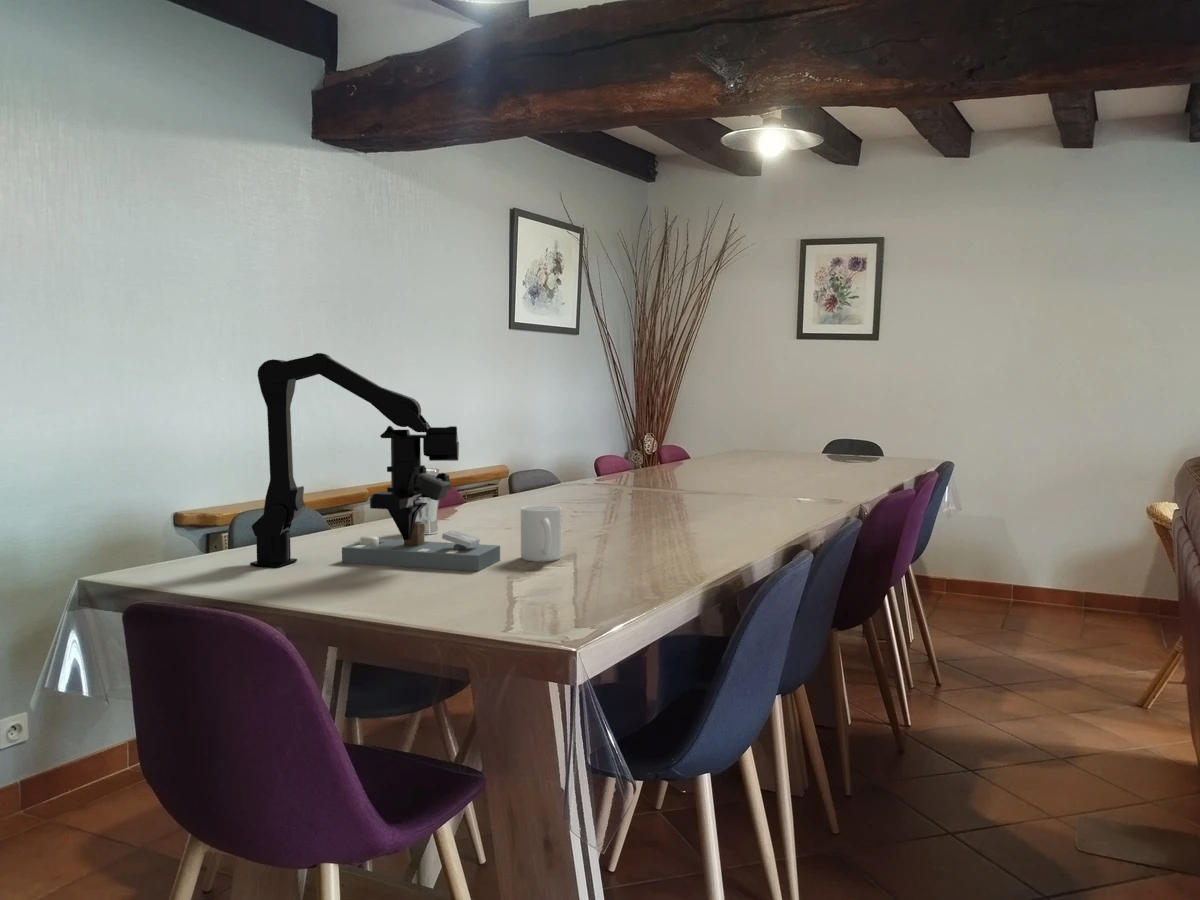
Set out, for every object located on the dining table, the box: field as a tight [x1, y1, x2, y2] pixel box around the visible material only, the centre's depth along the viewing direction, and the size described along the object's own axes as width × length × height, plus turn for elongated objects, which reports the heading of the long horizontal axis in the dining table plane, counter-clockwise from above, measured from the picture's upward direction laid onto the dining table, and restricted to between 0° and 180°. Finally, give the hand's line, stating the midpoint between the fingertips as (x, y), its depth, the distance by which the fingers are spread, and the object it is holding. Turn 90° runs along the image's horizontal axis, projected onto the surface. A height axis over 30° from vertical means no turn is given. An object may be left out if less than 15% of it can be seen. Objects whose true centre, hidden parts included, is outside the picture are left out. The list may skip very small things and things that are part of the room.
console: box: [341, 538, 501, 572], centre depth 183 cm, size 11×29×4 cm, turn 75°
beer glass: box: [415, 467, 440, 536], centre depth 216 cm, size 7×7×15 cm
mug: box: [520, 504, 563, 563], centre depth 185 cm, size 12×8×10 cm
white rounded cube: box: [359, 535, 380, 546], centre depth 186 cm, size 4×4×4 cm
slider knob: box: [403, 521, 425, 545], centre depth 185 cm, size 3×3×4 cm
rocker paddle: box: [441, 529, 481, 548], centre depth 180 cm, size 5×6×1 cm
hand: (406, 539), depth 182 cm, fingers closed
